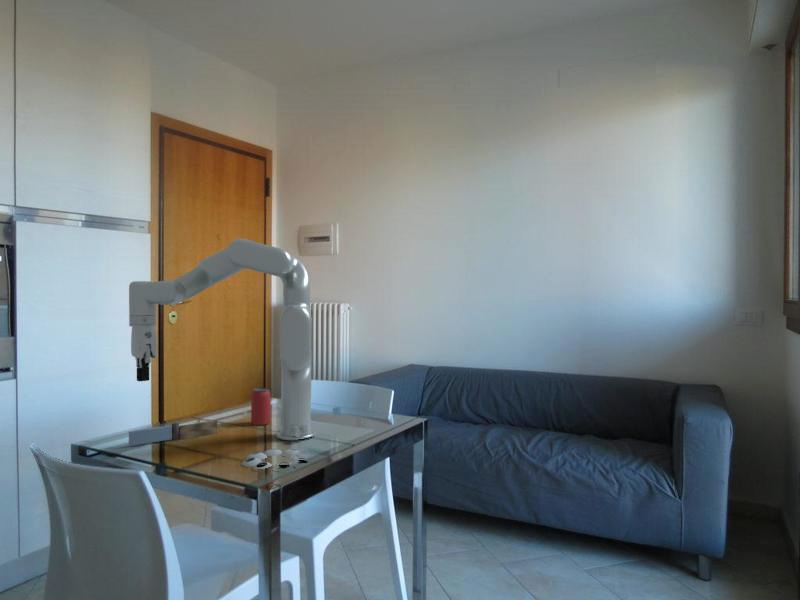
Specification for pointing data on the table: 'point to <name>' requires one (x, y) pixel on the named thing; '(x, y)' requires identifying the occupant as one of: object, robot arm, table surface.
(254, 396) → the beer can
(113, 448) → the table surface
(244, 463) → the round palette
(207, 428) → the hinge frame
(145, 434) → the hinged leaf
